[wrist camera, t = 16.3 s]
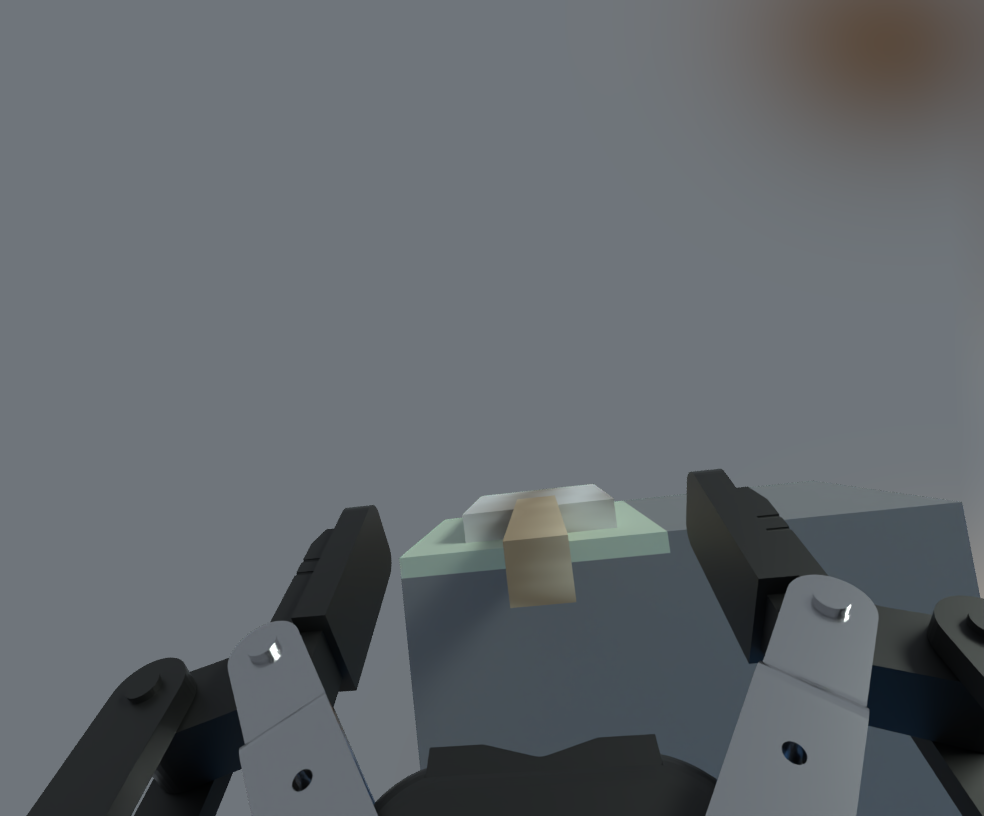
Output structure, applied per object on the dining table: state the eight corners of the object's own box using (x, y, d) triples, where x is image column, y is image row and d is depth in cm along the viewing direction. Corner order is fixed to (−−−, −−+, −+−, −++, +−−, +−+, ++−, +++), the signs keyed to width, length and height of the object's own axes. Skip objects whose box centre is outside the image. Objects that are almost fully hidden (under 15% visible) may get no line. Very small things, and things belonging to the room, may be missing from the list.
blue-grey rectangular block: (896, 979, 31) (812, 480, 34) (1116, 1311, 19) (961, 501, 22) (495, 989, 33) (445, 519, 36) (472, 1291, 22) (399, 558, 24)
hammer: (596, 505, 34) (592, 476, 34) (678, 593, 14) (668, 524, 15) (484, 517, 35) (480, 489, 35) (413, 616, 15) (407, 551, 15)
